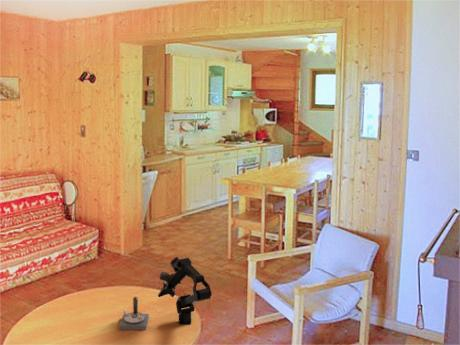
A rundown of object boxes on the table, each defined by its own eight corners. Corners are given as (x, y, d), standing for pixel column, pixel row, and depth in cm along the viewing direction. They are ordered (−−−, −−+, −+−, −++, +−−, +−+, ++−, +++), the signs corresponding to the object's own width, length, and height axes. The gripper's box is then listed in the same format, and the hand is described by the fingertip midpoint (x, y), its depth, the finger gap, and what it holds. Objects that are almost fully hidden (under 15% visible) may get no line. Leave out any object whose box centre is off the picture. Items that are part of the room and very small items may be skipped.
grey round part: (146, 312, 283) (146, 295, 281) (143, 323, 270) (143, 305, 268) (126, 312, 282) (126, 295, 280) (122, 323, 270) (122, 305, 268)
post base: (148, 317, 283) (148, 307, 282) (145, 329, 269) (145, 318, 268) (123, 317, 282) (123, 307, 281) (119, 329, 268) (119, 318, 267)
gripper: (167, 261, 287) (147, 280, 287) (169, 273, 269) (148, 294, 269) (180, 274, 289) (161, 292, 289) (183, 287, 271) (163, 307, 271)
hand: (158, 296), depth 280 cm, fingers closed
